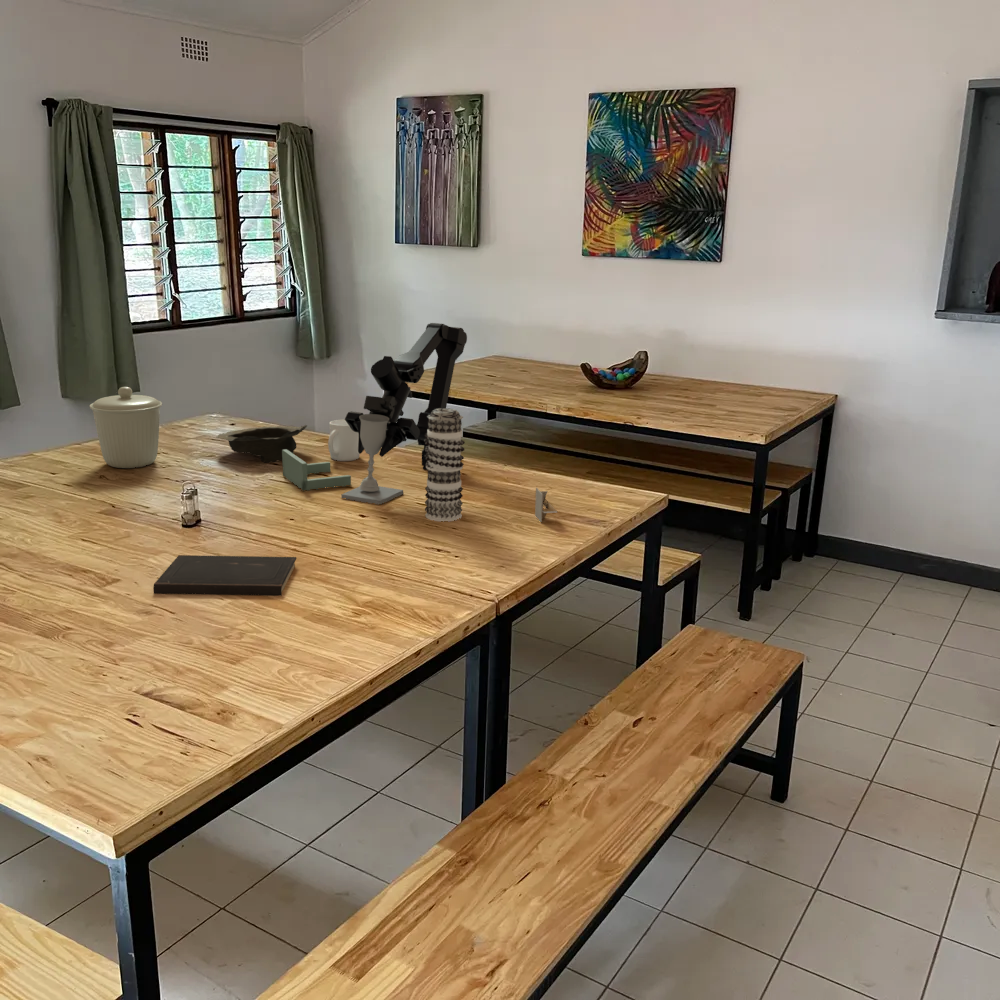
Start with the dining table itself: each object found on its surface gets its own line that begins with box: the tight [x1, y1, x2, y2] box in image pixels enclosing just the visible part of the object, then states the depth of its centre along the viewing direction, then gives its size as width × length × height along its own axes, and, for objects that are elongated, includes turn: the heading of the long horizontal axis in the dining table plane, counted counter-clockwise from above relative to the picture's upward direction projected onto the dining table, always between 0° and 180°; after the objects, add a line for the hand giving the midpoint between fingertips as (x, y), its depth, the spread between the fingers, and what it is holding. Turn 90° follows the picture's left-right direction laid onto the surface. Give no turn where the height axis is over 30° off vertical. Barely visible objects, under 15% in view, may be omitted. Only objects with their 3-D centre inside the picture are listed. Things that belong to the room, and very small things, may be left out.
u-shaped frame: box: [281, 449, 352, 492], centre depth 252 cm, size 13×16×7 cm
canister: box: [89, 386, 163, 469], centre depth 261 cm, size 18×18×21 cm
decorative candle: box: [424, 407, 466, 523], centre depth 223 cm, size 9×9×25 cm
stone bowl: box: [215, 424, 308, 464], centre depth 276 cm, size 25×25×9 cm
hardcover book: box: [152, 554, 297, 597], centre depth 184 cm, size 16×23×2 cm
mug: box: [327, 419, 361, 462], centre depth 274 cm, size 12×8×10 cm
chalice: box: [358, 413, 389, 491], centre depth 238 cm, size 7×7×18 cm
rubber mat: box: [340, 485, 404, 505], centre depth 241 cm, size 11×11×1 cm
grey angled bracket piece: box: [534, 487, 558, 523], centre depth 225 cm, size 3×7×7 cm, turn 12°
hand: (369, 454), depth 237 cm, fingers closed on chalice, 6 cm apart
